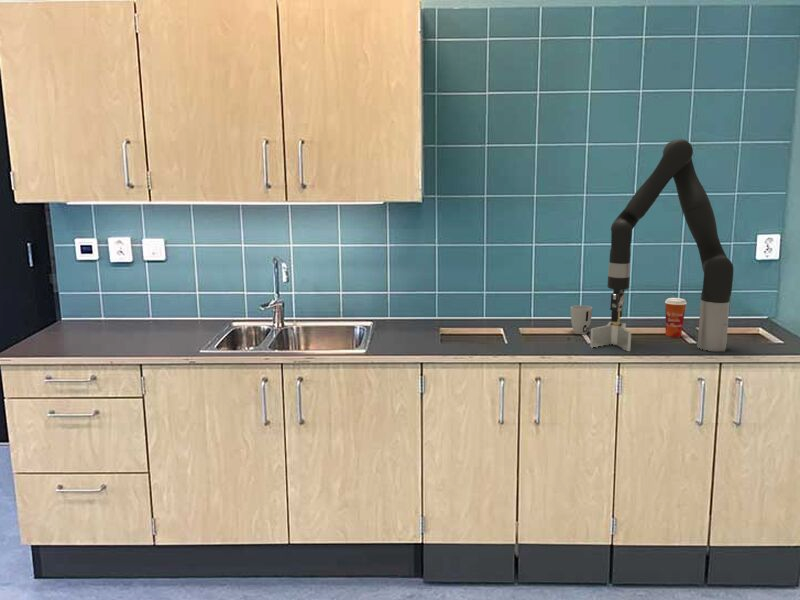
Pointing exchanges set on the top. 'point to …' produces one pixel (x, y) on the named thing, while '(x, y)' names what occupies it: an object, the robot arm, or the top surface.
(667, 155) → the robot arm
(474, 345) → the top surface
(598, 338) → the grey finned stand
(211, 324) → the top surface
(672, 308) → the paper cup
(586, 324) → the cup
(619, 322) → the pin
